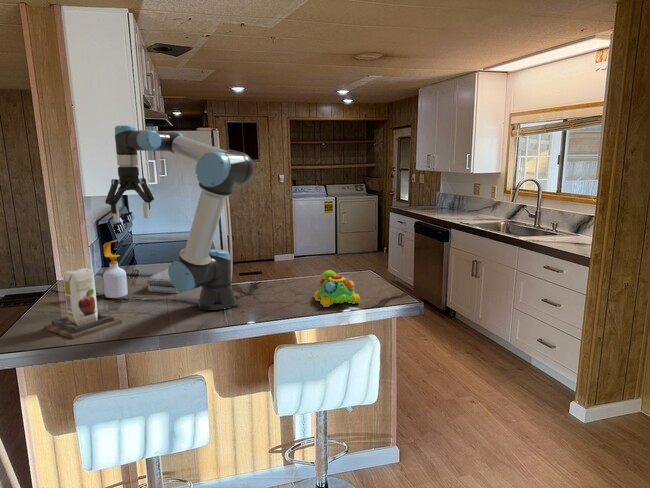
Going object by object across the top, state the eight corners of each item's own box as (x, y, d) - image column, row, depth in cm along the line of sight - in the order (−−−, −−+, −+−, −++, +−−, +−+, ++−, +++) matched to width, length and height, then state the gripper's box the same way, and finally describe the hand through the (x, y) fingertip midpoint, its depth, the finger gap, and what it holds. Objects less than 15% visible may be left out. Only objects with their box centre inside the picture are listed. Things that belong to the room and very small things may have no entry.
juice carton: (65, 324, 159) (59, 271, 156) (89, 317, 166) (84, 267, 163) (77, 328, 155) (71, 274, 152) (101, 320, 162) (96, 269, 159)
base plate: (122, 322, 164) (121, 315, 163) (73, 339, 149) (72, 331, 148) (93, 314, 173) (92, 307, 173) (44, 328, 158) (43, 321, 158)
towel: (146, 293, 202) (145, 276, 200) (166, 282, 219) (165, 267, 218) (178, 295, 199) (177, 277, 198) (196, 284, 217) (195, 268, 216)
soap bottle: (119, 299, 192) (114, 242, 188) (100, 297, 194) (95, 241, 190) (132, 293, 201) (127, 238, 197) (114, 291, 203) (109, 238, 199)
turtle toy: (342, 291, 204) (343, 266, 201) (364, 307, 182) (364, 278, 180) (307, 295, 198) (306, 269, 196) (324, 311, 176) (324, 282, 174)
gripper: (148, 166, 189) (152, 216, 193) (92, 166, 168) (97, 222, 172) (160, 166, 185) (164, 217, 189) (104, 166, 164) (109, 224, 168)
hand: (132, 220), depth 181 cm, fingers open, 13 cm apart
